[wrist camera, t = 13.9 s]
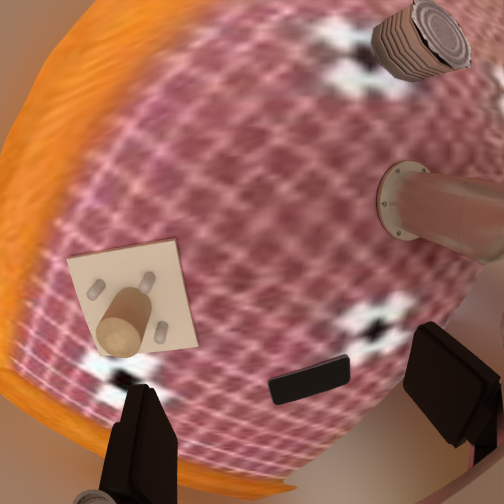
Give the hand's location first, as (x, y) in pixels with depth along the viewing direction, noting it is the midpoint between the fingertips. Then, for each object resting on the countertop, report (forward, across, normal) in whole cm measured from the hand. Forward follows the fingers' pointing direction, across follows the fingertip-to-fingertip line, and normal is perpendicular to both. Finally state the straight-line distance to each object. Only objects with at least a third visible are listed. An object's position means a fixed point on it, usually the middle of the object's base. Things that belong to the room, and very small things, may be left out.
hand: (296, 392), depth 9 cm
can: (+31, -30, -25) cm, 50 cm away
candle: (+29, +15, +9) cm, 34 cm away
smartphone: (+31, -10, +30) cm, 44 cm away
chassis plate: (+30, +15, +9) cm, 35 cm away
